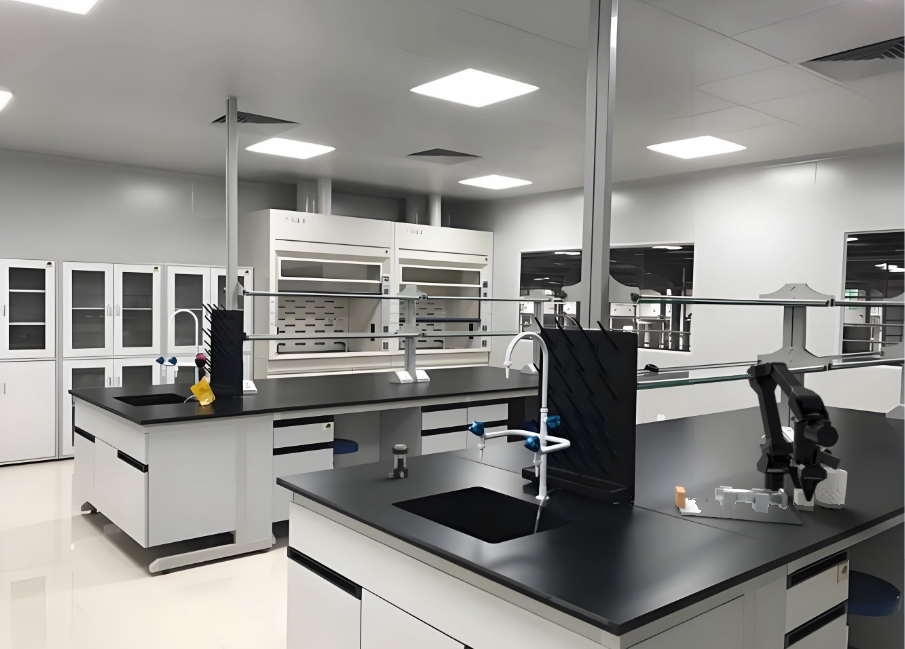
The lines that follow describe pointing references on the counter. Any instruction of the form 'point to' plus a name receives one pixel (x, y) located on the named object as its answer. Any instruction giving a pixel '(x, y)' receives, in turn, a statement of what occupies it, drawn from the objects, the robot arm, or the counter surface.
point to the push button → (399, 461)
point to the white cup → (832, 487)
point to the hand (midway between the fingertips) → (803, 496)
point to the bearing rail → (721, 501)
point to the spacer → (802, 498)
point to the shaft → (750, 495)
